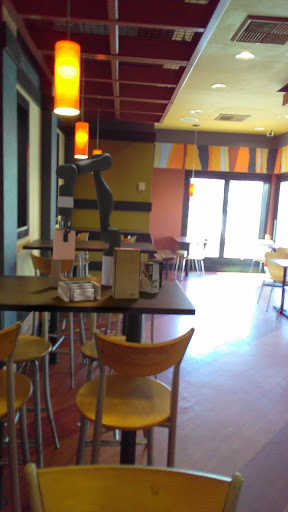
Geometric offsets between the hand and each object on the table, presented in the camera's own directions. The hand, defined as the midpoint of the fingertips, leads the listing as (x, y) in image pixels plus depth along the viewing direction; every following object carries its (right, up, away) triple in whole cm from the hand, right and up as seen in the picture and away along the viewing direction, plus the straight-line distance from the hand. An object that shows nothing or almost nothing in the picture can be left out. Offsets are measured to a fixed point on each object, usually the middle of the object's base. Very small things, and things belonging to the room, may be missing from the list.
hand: (64, 241), depth 194 cm
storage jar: (+45, -25, +43) cm, 67 cm away
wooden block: (-7, -25, +24) cm, 35 cm away
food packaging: (+29, -28, +9) cm, 42 cm away
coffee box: (+42, -27, +25) cm, 56 cm away
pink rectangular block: (0, -9, +1) cm, 9 cm away
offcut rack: (+7, -28, +2) cm, 29 cm away
